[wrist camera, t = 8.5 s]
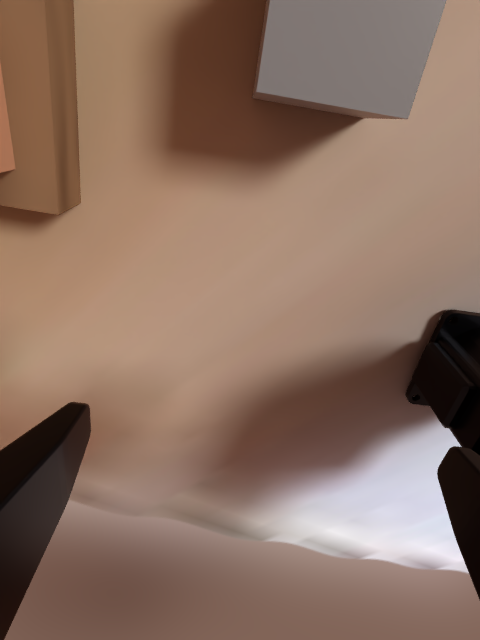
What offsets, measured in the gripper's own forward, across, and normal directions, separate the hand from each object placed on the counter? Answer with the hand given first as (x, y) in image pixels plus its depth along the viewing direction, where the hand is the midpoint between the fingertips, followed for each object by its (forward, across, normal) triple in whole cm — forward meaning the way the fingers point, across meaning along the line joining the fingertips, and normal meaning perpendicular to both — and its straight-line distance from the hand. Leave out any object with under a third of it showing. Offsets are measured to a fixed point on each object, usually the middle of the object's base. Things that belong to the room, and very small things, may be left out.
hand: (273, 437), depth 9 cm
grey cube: (+12, -1, -10) cm, 16 cm away
